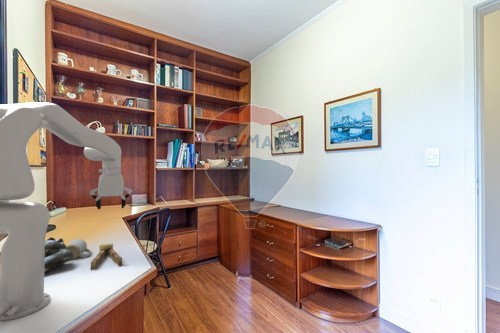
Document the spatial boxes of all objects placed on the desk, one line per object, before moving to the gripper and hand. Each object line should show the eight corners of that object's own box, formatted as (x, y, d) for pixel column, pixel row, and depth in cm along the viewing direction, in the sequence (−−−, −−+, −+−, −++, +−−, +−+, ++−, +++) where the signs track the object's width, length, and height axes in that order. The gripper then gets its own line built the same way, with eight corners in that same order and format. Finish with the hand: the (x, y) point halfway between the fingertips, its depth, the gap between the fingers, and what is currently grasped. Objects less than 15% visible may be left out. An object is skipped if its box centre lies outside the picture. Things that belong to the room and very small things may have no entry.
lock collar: (111, 255, 112) (111, 245, 112) (99, 256, 111) (99, 246, 111) (112, 253, 114) (113, 243, 115) (100, 254, 113) (100, 244, 113)
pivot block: (110, 255, 113) (110, 248, 113) (102, 255, 112) (102, 249, 112) (111, 253, 115) (111, 246, 115) (104, 253, 114) (104, 247, 114)
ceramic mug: (60, 261, 105) (61, 244, 105) (68, 254, 112) (69, 238, 113) (88, 259, 108) (88, 242, 108) (93, 253, 116) (94, 237, 116)
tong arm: (122, 265, 101) (122, 258, 101) (118, 266, 100) (118, 259, 100) (112, 255, 112) (112, 248, 112) (109, 255, 111) (109, 249, 111)
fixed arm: (95, 269, 96) (95, 261, 96) (90, 270, 96) (90, 262, 96) (106, 254, 113) (106, 247, 113) (102, 254, 113) (102, 248, 113)
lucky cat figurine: (26, 280, 86) (14, 246, 88) (31, 281, 95) (19, 250, 97) (75, 258, 96) (62, 228, 98) (75, 261, 105) (64, 233, 107)
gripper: (87, 172, 103) (87, 210, 103) (131, 172, 109) (130, 208, 109) (92, 171, 110) (91, 208, 110) (133, 171, 116) (132, 206, 116)
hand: (111, 208), depth 109 cm, fingers open, 9 cm apart
